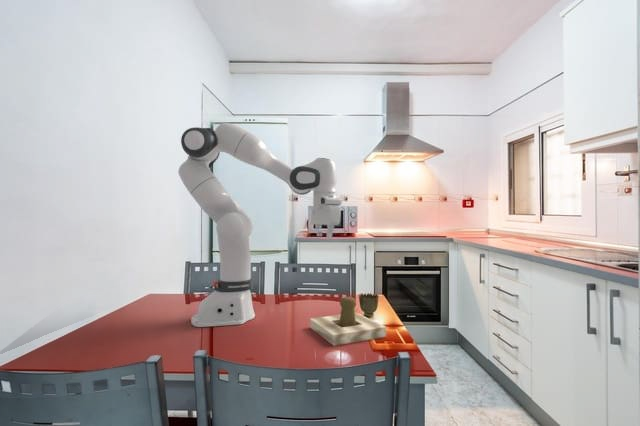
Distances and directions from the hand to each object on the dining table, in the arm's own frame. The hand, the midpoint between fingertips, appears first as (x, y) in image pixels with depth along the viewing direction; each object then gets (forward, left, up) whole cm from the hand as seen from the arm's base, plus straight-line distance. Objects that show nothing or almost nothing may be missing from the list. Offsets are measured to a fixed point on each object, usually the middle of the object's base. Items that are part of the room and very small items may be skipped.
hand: (324, 236), depth 128 cm
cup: (+14, -9, -30) cm, 34 cm away
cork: (-1, -21, -30) cm, 36 cm away
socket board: (-2, -21, -30) cm, 36 cm away
